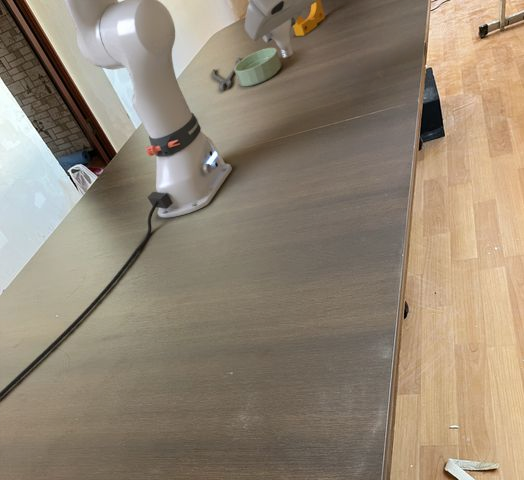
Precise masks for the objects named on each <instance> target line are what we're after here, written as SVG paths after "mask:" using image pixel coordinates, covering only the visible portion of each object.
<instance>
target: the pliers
mask: <svg viewBox="0 0 524 480" xmlns="http://www.w3.org/2000/svg"><path fill="white" fill-rule="evenodd" d="M241 60H242V59H241V57H238V58H237V63H236V65H237V64H238V63H239V62H240V61H241ZM211 74H212V76H213V79H214V80H215V79H216V80H217V81H219V89H220V90H221V92H223V91H225V88H226V87H227V89H230V88H231V86H232V77H233V75H234V74H236V73H235V71H234V69H232V71H231V72H230V73H229V74H228V76H227V77H226V78H222V77H220V76H219V75H216V69H215V68H214V69H212V73H211Z"/></svg>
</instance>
